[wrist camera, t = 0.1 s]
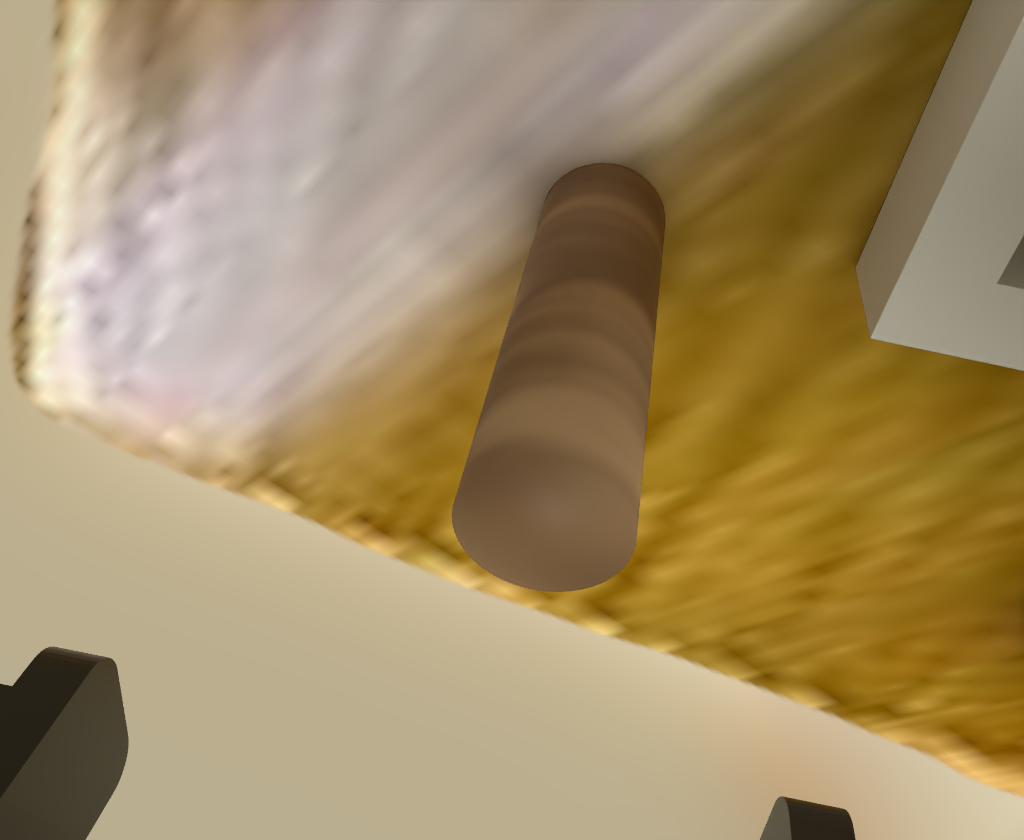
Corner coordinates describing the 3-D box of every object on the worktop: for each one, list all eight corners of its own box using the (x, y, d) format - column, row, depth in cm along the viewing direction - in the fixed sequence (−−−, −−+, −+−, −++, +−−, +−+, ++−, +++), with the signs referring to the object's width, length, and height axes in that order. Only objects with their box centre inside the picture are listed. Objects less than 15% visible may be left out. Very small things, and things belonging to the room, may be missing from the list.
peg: (589, 138, 30) (516, 428, 19) (691, 211, 31) (675, 526, 20) (518, 230, 32) (419, 532, 21) (615, 295, 33) (565, 615, 22)
